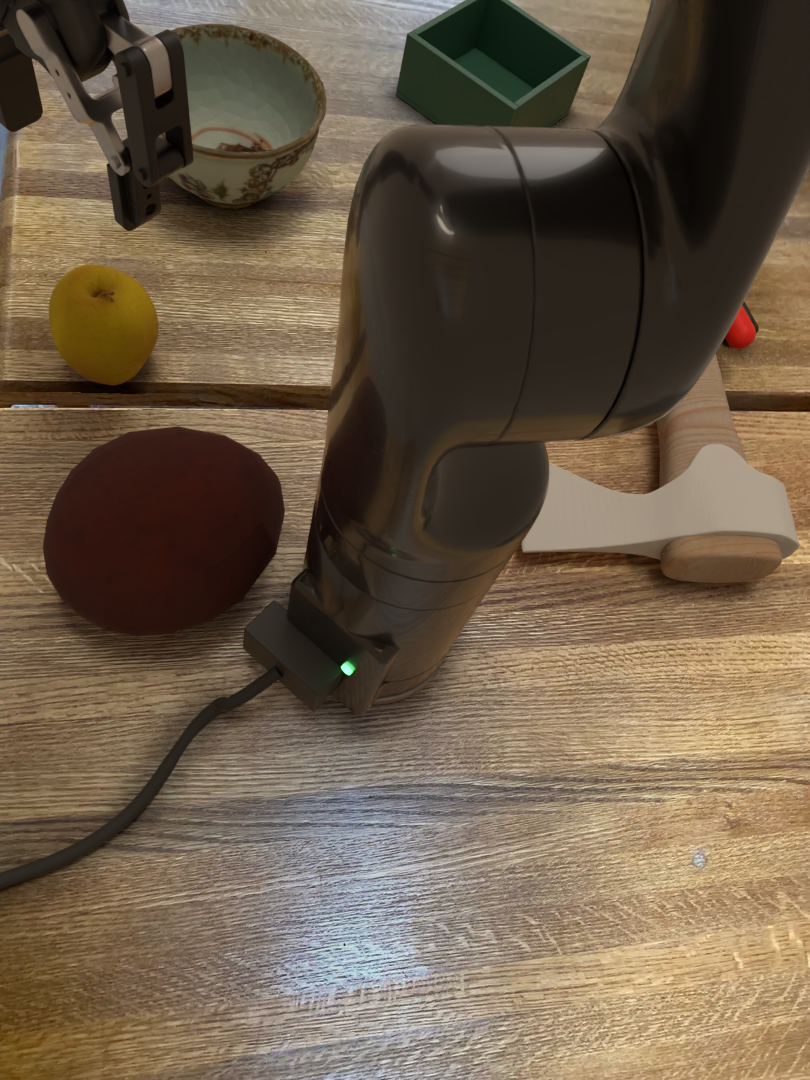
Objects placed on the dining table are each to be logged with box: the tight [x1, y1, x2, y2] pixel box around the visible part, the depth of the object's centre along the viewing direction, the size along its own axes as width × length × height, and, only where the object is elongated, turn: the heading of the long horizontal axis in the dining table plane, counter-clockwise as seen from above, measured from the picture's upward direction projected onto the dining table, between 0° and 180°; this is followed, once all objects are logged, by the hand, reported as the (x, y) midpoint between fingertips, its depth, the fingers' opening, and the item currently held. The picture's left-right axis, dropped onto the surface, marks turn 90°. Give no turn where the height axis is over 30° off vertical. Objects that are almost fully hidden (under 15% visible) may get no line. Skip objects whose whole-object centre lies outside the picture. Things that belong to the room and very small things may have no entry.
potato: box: [42, 425, 286, 637], centre depth 46 cm, size 11×13×10 cm
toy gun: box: [724, 300, 760, 350], centre depth 63 cm, size 10×12×5 cm
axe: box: [521, 353, 800, 584], centre depth 61 cm, size 18×5×30 cm
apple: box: [48, 264, 160, 386], centre depth 53 cm, size 6×6×8 cm
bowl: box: [162, 23, 327, 210], centre depth 62 cm, size 14×14×8 cm
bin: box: [395, 0, 591, 127], centre depth 73 cm, size 11×11×6 cm
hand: (79, 170), depth 43 cm, fingers open, 8 cm apart
